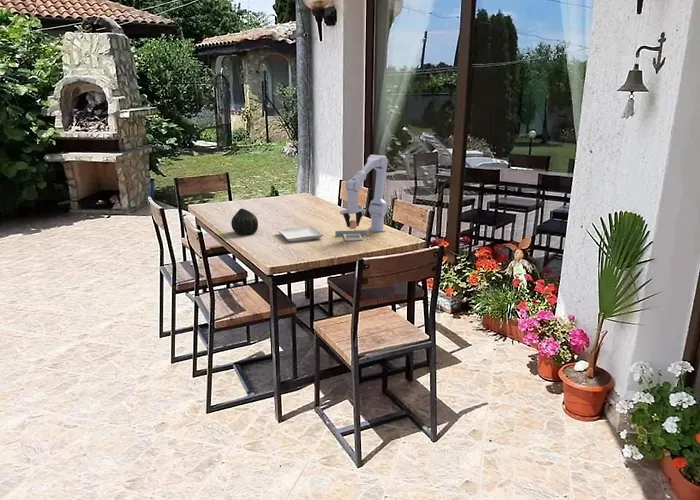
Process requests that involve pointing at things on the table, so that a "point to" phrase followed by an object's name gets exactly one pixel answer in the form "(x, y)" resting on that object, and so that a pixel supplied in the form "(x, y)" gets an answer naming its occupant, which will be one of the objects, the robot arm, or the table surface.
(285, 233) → the salad plate
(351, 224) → the ball
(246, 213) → the squash
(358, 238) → the white square tray
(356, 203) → the robot arm
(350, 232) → the low wall
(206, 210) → the table surface
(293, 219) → the table surface
